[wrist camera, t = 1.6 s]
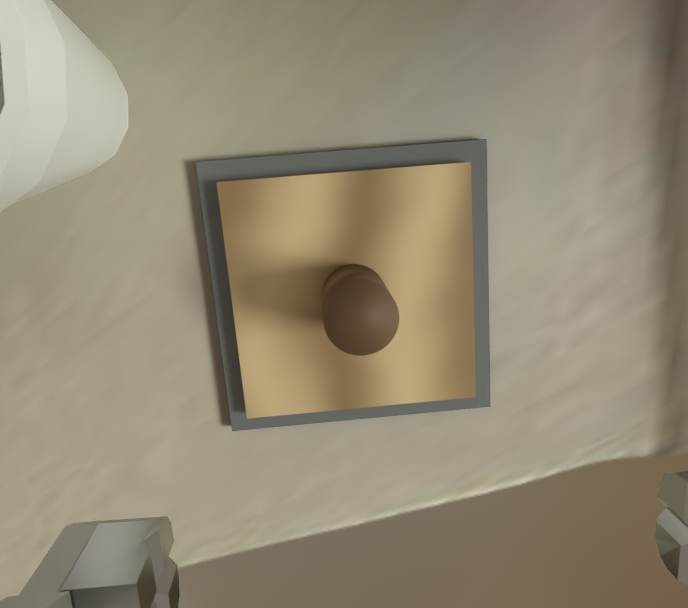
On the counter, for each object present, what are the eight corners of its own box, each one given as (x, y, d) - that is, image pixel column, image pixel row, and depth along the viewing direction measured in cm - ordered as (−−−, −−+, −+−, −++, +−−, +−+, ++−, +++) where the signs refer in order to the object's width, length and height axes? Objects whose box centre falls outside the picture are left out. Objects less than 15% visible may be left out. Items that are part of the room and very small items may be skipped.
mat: (482, 139, 28) (486, 139, 27) (487, 402, 31) (490, 406, 31) (198, 162, 27) (195, 161, 27) (233, 425, 31) (232, 431, 30)
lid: (466, 162, 27) (501, 161, 22) (471, 391, 30) (503, 436, 25) (219, 181, 27) (197, 185, 22) (248, 412, 30) (235, 461, 25)
